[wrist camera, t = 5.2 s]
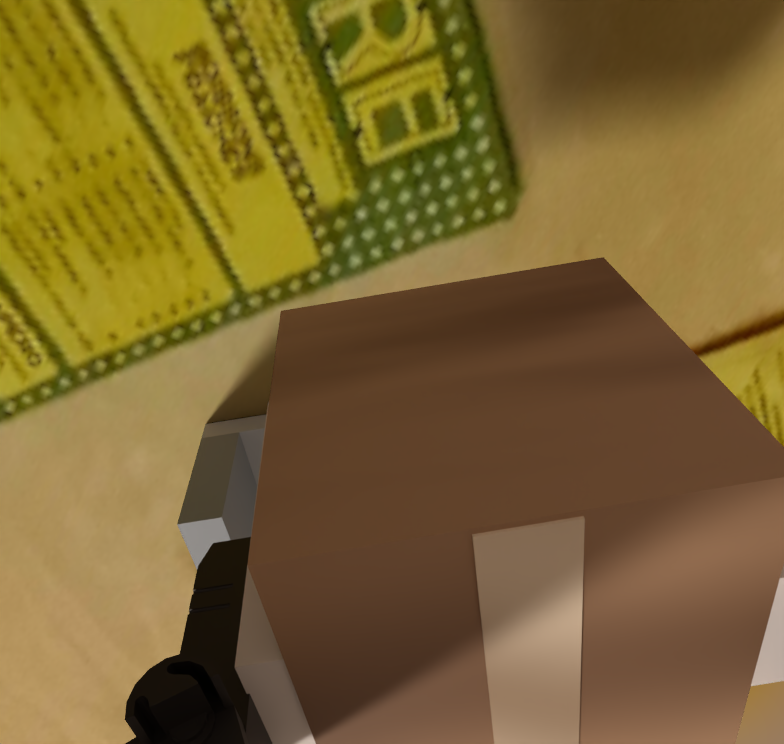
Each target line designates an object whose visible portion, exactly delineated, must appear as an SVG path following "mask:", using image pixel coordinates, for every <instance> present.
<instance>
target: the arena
mask: <svg viewBox="0 0 784 744" xmlns="http://www.w3.org/2000/svg"><path fill="white" fill-rule="evenodd" d="M265 422H266V415H259V416H253V417H247V418H241V419H234V420H228V421H222V422H215V423H209V424H206V425H205V428H204V432H203V435H202V439H201V442H200V446H199V449H198V453H197V456H196V460H195V464H194V467H193V471H192V474H191V478H190V481H189V485H188V488H187V492H186V495H185V499H184V502H183V506H182V510H181V513H180V517H179V520H178V524H177V525H178V527H179V529H180V532H181V534H182V536H183V539H184V541H185V543H186V545H187V548H188V550H189V552H190V555H191V557H192V559H193V561H194V564H195V566H196V568H197V569H198V565H199V564H200V562H201V561H202V559H203V558H204V556H205V555H206V553H207V552H208V550H209V548H210V547H211V545H212V544H213V543H216V542H222V541H229V540H235V539H241V538H247V537H251V533H252V525H253V517H254V509H255V501H256V493H257V486H258V478H259V470H260V462H261V454H262V446H263V438H264V430H265Z"/></svg>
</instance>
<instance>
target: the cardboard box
mask: <svg viewBox="0 0 784 744" xmlns="http://www.w3.org/2000/svg"><path fill="white" fill-rule="evenodd" d="M783 564H784V447H783V446H782V445H781V444H780V443H779V442H778V441H777V440H776V439H775V438H774V436H773V435H772V434H771V433H770V432H769V431H768V430H767V429H766V428H765V427H764V426H763V425H762V424H761V423H760V422H759V421H758V420H757V419H756V418H755V416H754V415H753V414H752V413H751V412H750V411H749V410H748V409H747V408H746V407H745V406H744V405H743V404H742V403H741V402H740V401H739V400H738V399H737V398H736V396H735V395H734V394H733V393H732V392H731V391H730V390H729V389H728V388H727V387H726V386H725V385H724V384H723V383H722V382H721V381H720V380H719V379H718V378H717V376H716V375H715V374H714V373H713V372H712V371H711V370H710V369H709V368H708V367H707V366H706V365H705V364H704V363H703V362H702V361H701V360H700V359H699V358H698V356H697V355H696V354H695V353H694V352H693V351H692V350H691V349H690V348H689V347H688V346H687V345H686V344H685V343H684V342H683V341H682V340H681V339H680V338H679V336H678V335H677V334H676V333H675V332H674V331H673V330H672V329H671V328H670V327H669V326H668V325H667V324H666V323H665V322H664V321H663V320H662V319H661V318H660V316H659V315H658V314H657V313H656V312H655V311H654V310H653V309H652V308H651V307H650V306H649V305H648V304H647V303H646V302H645V301H644V300H643V299H642V298H641V296H640V295H639V294H638V293H637V292H636V291H635V290H634V289H633V288H632V287H631V286H630V285H629V284H628V283H627V282H626V281H625V280H624V279H623V277H622V276H621V275H620V274H619V273H618V272H617V271H616V270H615V269H614V268H613V267H612V266H611V265H610V264H609V263H608V262H607V261H606V260H605V259H604V257H603V258H597V259H591V260H585V261H579V262H573V263H567V264H561V265H555V266H549V267H543V268H537V269H531V270H525V271H519V272H513V273H507V274H501V275H495V276H489V277H483V278H477V279H471V280H465V281H459V282H453V283H447V284H441V285H435V286H429V287H423V288H417V289H411V290H405V291H399V292H393V293H387V294H381V295H375V296H369V297H363V298H357V299H351V300H345V301H339V302H332V303H326V304H320V305H314V306H308V307H302V308H296V309H290V310H284V311H281V315H280V322H279V330H278V337H277V345H276V353H275V360H274V368H273V375H272V383H271V390H270V398H269V406H268V413H267V421H266V428H265V436H264V444H263V451H262V459H261V466H260V474H259V482H258V489H257V497H256V504H255V512H254V520H253V527H252V535H251V542H250V550H249V558H248V565H247V566H248V569H249V571H250V574H251V576H252V579H253V582H254V584H255V587H256V589H257V592H258V595H259V597H260V600H261V602H262V605H263V608H264V610H265V613H266V615H267V618H268V621H269V623H270V626H271V628H272V631H273V634H274V636H275V639H276V641H277V644H278V647H279V649H280V652H281V654H282V657H283V660H284V662H285V665H286V667H287V670H288V673H289V675H290V678H291V680H292V683H293V686H294V688H295V691H296V693H297V696H298V699H299V701H300V704H301V706H302V709H303V712H304V714H305V717H306V719H307V722H308V725H309V727H310V730H311V732H312V735H313V738H314V740H315V743H316V744H735V742H736V739H737V735H738V731H739V728H740V724H741V720H742V716H743V713H744V709H745V705H746V701H747V698H748V694H749V690H750V687H751V683H752V679H753V676H754V672H755V668H756V665H757V661H758V657H759V653H760V650H761V646H762V642H763V639H764V635H765V631H766V627H767V624H768V620H769V616H770V613H771V609H772V605H773V601H774V598H775V594H776V590H777V587H778V583H779V579H780V576H781V572H782V568H783Z"/></svg>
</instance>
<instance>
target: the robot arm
mask: <svg viewBox="0 0 784 744" xmlns="http://www.w3.org/2000/svg"><path fill="white" fill-rule="evenodd" d="M268 406H269V402H268ZM268 406H267V413H268ZM266 421H267V414H266ZM265 428H266V422H265ZM264 436H265V430H264ZM263 444H264V438H263ZM262 451H263V446H262ZM261 459H262V454H261ZM260 466H261V462H260ZM259 474H260V470H259ZM258 482H259V478H258ZM257 489H258V486H257ZM256 497H257V493H256ZM255 504H256V501H255ZM254 512H255V509H254ZM253 520H254V517H253ZM252 527H253V525H252ZM251 535H252V533H251ZM250 542H251V537H247V538H241V539H235V540H229V541H222V542H216V543H213V544H212V545H211V547H210V548H209V550H208V552H207V553H206V555H205V556H204V558H203V559H202V561H201V562H200V564H199V565H198V569H197V574H196V579H195V583H194V588H193V591H194V594H193V595H192V598H191V603H190V608H189V612H190V613H189V615H188V617H187V622H186V627H185V632H184V637H183V641H182V646H181V651H180V654H179V655H176V656H173V657H169V658H166V659H164V660H163V661H161V662H160V663H158V664H157V665H155V666H153V667H152V668H150V669H149V670H148V671H147V672H146V673H145V674H144V675H143V677H142V678H141V679H140V680H139V681H138V682H137V683H136V684H135V686H134V688H133V690H132V692H131V694H130V696H129V698H128V700H127V704H126V714H125V720H126V722H127V723H128V725H129V726H130V728H131V729H132V731H133V732H134V734H135V735H136V738H134V739H132V740H131V741H129V742H127V743H126V744H316V743H315V740H314V738H313V735H312V732H311V730H310V727H309V725H308V722H307V719H306V717H305V714H304V712H303V709H302V706H301V704H300V701H299V699H298V696H297V693H296V691H295V688H294V686H293V683H292V680H291V678H290V675H289V673H288V670H287V667H286V665H285V662H284V660H283V657H282V654H281V652H280V649H279V647H278V644H277V641H276V639H275V636H274V634H273V631H272V628H271V626H270V623H269V621H268V618H267V615H266V613H265V610H264V608H263V605H262V602H261V600H260V597H259V595H258V592H257V589H256V587H255V584H254V582H253V579H252V576H251V574H250V571H249V569H248V566H247V565H248V558H249V550H250ZM779 681H784V564H783V568H782V572H781V576H780V579H779V583H778V587H777V590H776V594H775V598H774V601H773V605H772V609H771V613H770V616H769V620H768V624H767V627H766V631H765V635H764V639H763V642H762V646H761V650H760V653H759V657H758V661H757V665H756V668H755V672H754V676H753V679H752V683H751V686H754V685H761V684H767V683H773V682H779Z"/></svg>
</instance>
